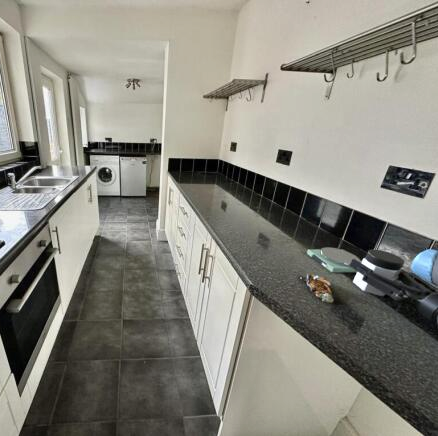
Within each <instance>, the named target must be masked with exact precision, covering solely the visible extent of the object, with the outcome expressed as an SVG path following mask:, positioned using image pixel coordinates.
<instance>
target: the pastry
mask: <svg viewBox="0 0 438 436" xmlns="http://www.w3.org/2000/svg"><path fill="white" fill-rule="evenodd" d="M303 279H304V277H300V280H303ZM304 282H306V285H307V286H308V287H309V288H310V292H312V293H314V294H315V297H316V298H317V299H321V301H322V302H325V303H330V304H331V303H332V304H333V302H334V301H335V300H334V298H333V296H332V294H333V291H332V290H331V288H330V286H331V282H330V281H328V280H327V278H326V277H323V276H319V275H316V274H313V275H312V274H310V273H307V275H306V278H305V279H304Z"/></svg>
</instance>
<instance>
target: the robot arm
mask: <svg viewBox="0 0 438 436" xmlns="http://www.w3.org/2000/svg"><path fill="white" fill-rule="evenodd" d="M350 267H352V268H353V269H355V270H356V271H357V272H359V273H360V274H362V275H363V278H362V280H363V281H364V282H366V283H368V284H370V285H371V286H373V287H375V288H376V289H378V290H380V291H382V292H383V293H385V294H386V295H387V297H388V296H389V297H390V298H391V299H392V300H394V301H395V302H397V303H401V302H402V301H406V302H408V303H410V304H412V305H415V307H416V309H417V312H418V314H420V315H421V316H422V317H424V318H425V319H427V320H428V321H430V322H432V323H433V324H435V325H438V287H437V286H438V250H435V249H433V248H432V249H431V248H430V249H429V248H428V249H426V250H424V251H421V252H420V253H418V254H417V255H416V256H415V258H413V260H412V262H411V265H410V268H411V271H410V272H406V271H404V270H401V271H400V273H399V275H398V277H397V279H396V281H395V282H394V281H392V280H389V279H387V278H385V277H383V276H380V275H378V274H376V273H373V270H372V269H370V268H368V267H367V266H365V265H363V264H362V263H360V262H358V261H357V260H355V259H352V261H351V263H350ZM357 272H356V273H357ZM397 281H398V282H397ZM399 282H401V283H399ZM434 285H435V286H434Z"/></svg>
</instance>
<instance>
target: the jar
mask: <svg viewBox="0 0 438 436" xmlns="http://www.w3.org/2000/svg"><path fill="white" fill-rule="evenodd" d="M361 261H362V264H363V265H365V266H367V267H368V268H370V269H372V270H373V273H376V274H378V275H380V276H383V277H385V278H387V279H389V280H392V281H394V282H397V278H398V275H399V273H400V271H402V268H403V267H404V264H405V259H403V258H402V257H401V256H399V255H396V254H394V253H392V252H389V251H385V250H381V249H369V250H368V251H367V253H366V255H365V257H364V258H363V259H362V260H361ZM362 278H363V275H362V274H360V273H359V272H356V274H355V276H354V278H353V280H352V283H353V284H354V285H356V286H357V287H358V288H359V289H360V290H361V291H363V292H365V293H369V294H372V295H376V296H379V297H385V296H386V295H387V294H385V293H383V292H382V291H380V290H378V289H376V288H375V287H373V286H371V285H370V284H368V283H366V282H364V281H363V280H362Z"/></svg>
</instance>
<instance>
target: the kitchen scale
mask: <svg viewBox="0 0 438 436" xmlns="http://www.w3.org/2000/svg"><path fill="white" fill-rule="evenodd" d="M320 250H321V249H309V248H308V249H307V251H306V254H307V255H308V256H309V257H311V258H312V259H313V260H315V261H316V262H317V263H319V264H320V265H321V266H322V267H324V268H325V269H327V270H328V271H329V272H331V273H357V271H356V270H355V269H353V268H352V267H350V266H347V265H342V264H338V263H335V262H333V261H330V260H328V259H326V258H325V257H323V256H322V255H321V253H320ZM362 261H363V260H361V259H360V263H362Z"/></svg>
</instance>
